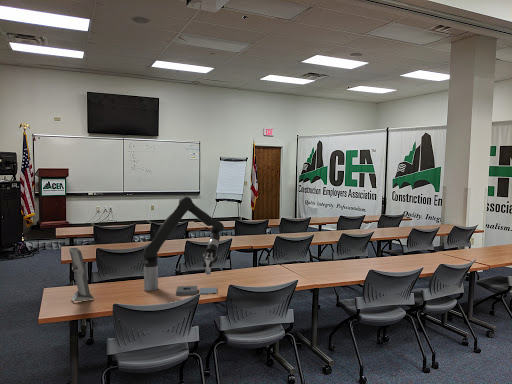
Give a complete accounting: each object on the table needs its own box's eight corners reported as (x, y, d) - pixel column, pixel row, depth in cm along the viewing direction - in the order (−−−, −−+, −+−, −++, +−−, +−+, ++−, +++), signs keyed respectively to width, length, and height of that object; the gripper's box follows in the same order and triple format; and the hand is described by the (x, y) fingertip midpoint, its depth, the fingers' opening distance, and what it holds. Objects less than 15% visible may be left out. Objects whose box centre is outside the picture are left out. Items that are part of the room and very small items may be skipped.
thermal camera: (70, 299, 253) (68, 247, 251) (90, 295, 260) (89, 245, 258) (73, 304, 243) (71, 250, 241) (94, 300, 251) (92, 248, 249)
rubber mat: (199, 294, 262) (199, 293, 262) (200, 289, 274) (200, 287, 274) (216, 293, 264) (216, 292, 264) (216, 288, 276) (216, 287, 276)
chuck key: (205, 274, 266) (205, 257, 266) (205, 273, 270) (205, 256, 269) (210, 274, 267) (210, 257, 266) (210, 273, 270) (210, 256, 270)
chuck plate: (176, 295, 260) (176, 291, 260) (177, 289, 272) (177, 286, 272) (196, 294, 262) (196, 291, 262) (197, 289, 274) (197, 285, 274)
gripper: (202, 243, 276) (196, 263, 265) (220, 243, 273) (215, 264, 262) (204, 248, 281) (199, 269, 270) (223, 249, 278) (217, 270, 267)
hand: (207, 266), depth 266 cm, fingers closed on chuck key, 3 cm apart
